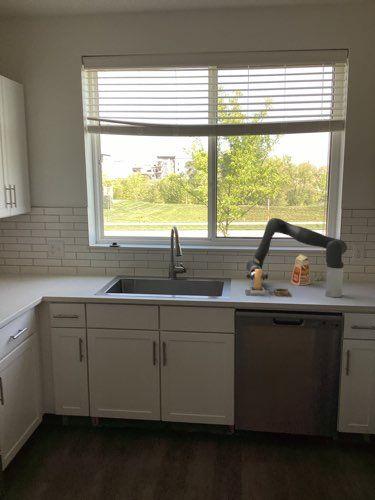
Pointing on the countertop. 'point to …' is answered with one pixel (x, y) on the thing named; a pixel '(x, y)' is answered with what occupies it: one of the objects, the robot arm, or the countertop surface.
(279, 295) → the holder
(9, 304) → the countertop surface
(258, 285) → the peg
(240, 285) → the countertop surface
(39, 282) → the countertop surface
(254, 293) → the hub
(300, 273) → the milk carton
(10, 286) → the countertop surface
